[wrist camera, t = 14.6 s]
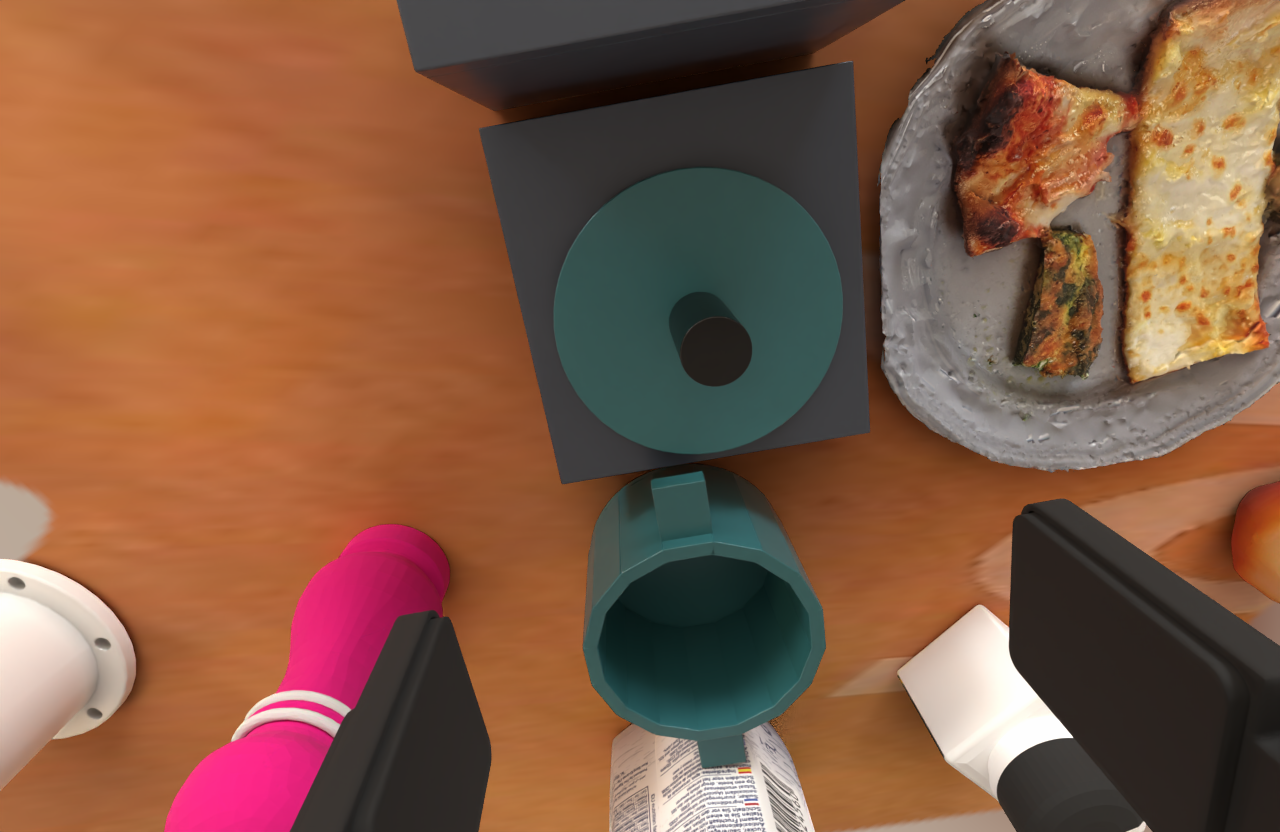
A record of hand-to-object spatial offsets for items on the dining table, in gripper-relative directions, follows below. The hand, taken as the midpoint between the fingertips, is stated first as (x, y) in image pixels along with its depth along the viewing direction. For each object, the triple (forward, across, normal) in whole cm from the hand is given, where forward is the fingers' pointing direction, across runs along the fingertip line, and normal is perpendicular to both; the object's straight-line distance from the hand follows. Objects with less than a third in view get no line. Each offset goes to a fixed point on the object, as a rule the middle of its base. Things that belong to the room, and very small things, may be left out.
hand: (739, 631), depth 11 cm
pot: (+25, 0, +14) cm, 29 cm away
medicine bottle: (+25, -17, +26) cm, 40 cm away
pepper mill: (+26, +17, +12) cm, 33 cm away
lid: (+19, -2, -1) cm, 19 cm away
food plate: (+25, -23, -1) cm, 34 cm away
